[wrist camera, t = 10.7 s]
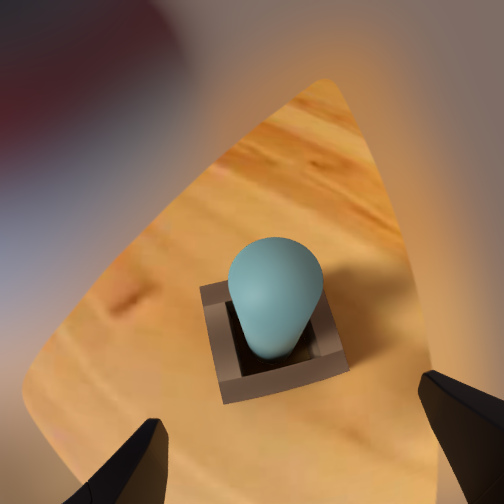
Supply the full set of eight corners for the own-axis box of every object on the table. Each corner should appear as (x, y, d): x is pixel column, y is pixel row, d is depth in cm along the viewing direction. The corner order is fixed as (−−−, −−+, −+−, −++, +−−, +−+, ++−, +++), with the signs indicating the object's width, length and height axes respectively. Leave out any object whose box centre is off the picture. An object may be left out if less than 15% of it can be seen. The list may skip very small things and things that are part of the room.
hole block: (334, 375, 21) (349, 370, 17) (231, 402, 20) (223, 404, 16) (305, 283, 25) (312, 259, 21) (210, 306, 24) (199, 286, 20)
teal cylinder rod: (292, 365, 21) (322, 328, 10) (246, 362, 22) (222, 320, 10) (295, 322, 23) (322, 240, 12) (251, 318, 23) (234, 234, 12)
